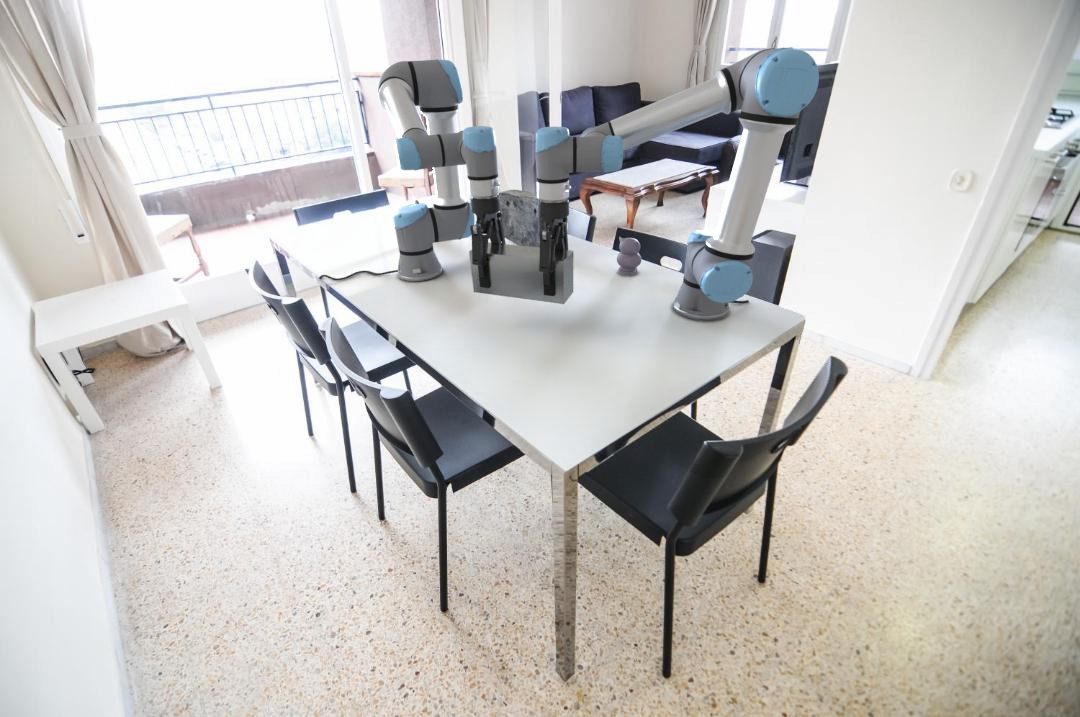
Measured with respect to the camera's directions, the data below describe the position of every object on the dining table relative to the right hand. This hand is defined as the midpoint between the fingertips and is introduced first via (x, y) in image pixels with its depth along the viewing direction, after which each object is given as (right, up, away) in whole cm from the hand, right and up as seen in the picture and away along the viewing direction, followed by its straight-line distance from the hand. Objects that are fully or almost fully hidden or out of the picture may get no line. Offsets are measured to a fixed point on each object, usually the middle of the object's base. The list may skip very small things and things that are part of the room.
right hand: (555, 288), depth 129 cm
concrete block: (-8, +26, +67) cm, 72 cm away
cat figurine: (+26, +11, +41) cm, 50 cm away
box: (-8, 0, +4) cm, 9 cm away
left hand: (-17, +3, +6) cm, 18 cm away
